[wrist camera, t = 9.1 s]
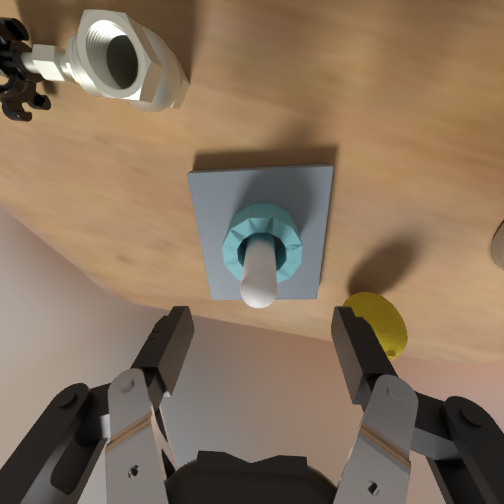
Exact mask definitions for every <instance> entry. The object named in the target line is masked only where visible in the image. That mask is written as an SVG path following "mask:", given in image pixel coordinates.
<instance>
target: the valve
mask: <svg viewBox="0 0 504 504" xmlns="http://www.w3.org/2000/svg"><path fill="white" fill-rule="evenodd" d="M22 40H23V41H28V40H29V35H28V32H27V30H26V28H25V27H24V25H23V24H22V23H21V22H20V21H19V20H17V19H15V18H7V17H0V76H4V77H7V78H8V79H9V80H8V82H7V83H6V84H4V85H0V101H1V102H2V110H3V112H4V114H5V115H6V116H7V117H8V118H10V119H11V120H15V121H26V122H29V121H31V119H32V113H31V112H26V111H25V110H24V109H23V107H22V103H24V102H27V104H28V105H29V106H30V107H32V108H33V109H39V110H49V109H50V108H51V102H50V100H49V98H48V97H47V96H46V95H40V94H39V93H37V92H36V83H38V82H41V81H42V80H50V81H54V82H62V83H73V84H76V83H77V82H78V83H79V84H80V85H81V87H82V88H83V89H84V90H85V91H86V92H87V93H88V94H90V95H92V96H94V97H104V98H111V99H116V100H123V101H126V102H127V103H129V104H130V105H132V106H133V107H135V108H137V109H139V110H142V111H146V112H160V111H163V110H165V109H167V108H171V109H180V107H181V105H182V102H183V100H184V98H185V95H186V93H187V90H188V88H189V85H190V83H189V81H188V79H187V77H186V75H185V73H184V71H183V69H182V67H181V65H180V63H179V61H178V59H177V57H176V55H175V54H174V53H173V52H172V51H171V50H170V49H169V47H168V46H167V45H166V43H165V42H164V41H163V40H162V39H161V38H160V37H159V36H158V35H157V34H156V33H154V32H153V31H151V30H150V29H148V28H146V27H144V26H141V25H139V24H138V23H137V22H136V21H134V20H133V19H132V18H131V17H129V16H128V15H127V14H126V13H122V12H116V11H108V10H95V9H88V10H84V12H83V15H82V18H81V21H80V25H79V29H78V34H74V35H72V36H71V37H70V38H69V40H68V44H67V49H66V50H64V49H62V48H59V47H56V46H51V45H39V44H34V46H33V50H32V49H31V48H30V47H29V46H28V45H26V44H25V43H23V42H21V41H22Z"/></svg>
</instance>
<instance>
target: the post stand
mask: <svg viewBox="0 0 504 504" xmlns="http://www.w3.org/2000/svg"><path fill="white" fill-rule="evenodd" d="M333 167H334V166H332V165H331V164H309V165H290V166H270V167H251V168H231V169H211V170H192V171H190V172H189V173H187V177H188V182H189V187H190V192H191V197H192V202H193V207H194V212H195V217H196V222H197V228H198V233H199V238H200V243H201V248H202V253H203V258H204V263H205V268H206V273H207V279H208V284H209V289H210V294H211V299H212V300H244V301H245V302H246V303H247V304H248V305H250V306H251V307H254V308H264V307H266V306H268V305H270V304H271V303H272V302H273V301H274V300H275V299H317V295H318V287H319V279H320V271H321V263H322V255H323V247H324V239H325V231H326V223H327V215H328V207H329V199H330V191H331V183H332V175H333ZM264 203H272V204H274V205H275V206H277V207H279V208H281V209H283V210H285V211H287V212H288V213H289V215H290V217H291V218H292V220H293V222H294V223H295V225H296V227H297V229H298V232H299V235H300V238H301V241H302V258H301V264H300V265H299V267H298V268H297V269H296V271H295V272H294V273H293V275H292V276H291V277H290V278H289V279H286V280H284V281H282V282H280V283H278V284H277V274H276V261H275V251H276V250H277V249H278V248H279V247H280V245H281V244H282V240H281V239H280V238H278V237H276V236H274V235H272V234H270V233H268V232H265V233H253V234H251V235H249V236H248V237H246V238H244V239H243V240H242V242H243V244H244V245H245V246H246V253H245V260H244V266H243V272H242V279H241V280H238V279H236V278H235V277H234V275H233V274H232V273H231V272H230V271H229V269H228V268H227V267H226V266H225V265H224V258H223V251H222V244H223V242H224V239H225V236H226V234H227V231H228V229H229V227H230V225H231V223H232V221H233V219H234V217H235V214H236V213H238V212H240V211H241V210H243V209H244V208H246V207H248V206H249V205H251V204H264Z"/></svg>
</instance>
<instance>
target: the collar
mask: <svg viewBox="0 0 504 504" xmlns="http://www.w3.org/2000/svg"><path fill="white" fill-rule="evenodd" d="M265 232H268V233H270V234H272V235H274V236H276V237H278V238H280V239H281V240H282V244H281V245H280V247H279V248H278V249H277V250H276V251H275V261H276V274H277V284H278V283H280V282H282V281H284V280H286V279H289V278H290V277H291V276H292V275H293V273H294V272H295V271H296V269H297V268H298V267H299V265H300V264H301V258H302V241H301V238H300V235H299V232H298V229H297V227H296V225H295V223H294V222H293V220H292V218H291V217H290V215H289V213H288V212H287V211H285V210H283V209H281V208H279V207H277V206H275V205H274V204H272V203H264V204H251V205H249V206H248V207H246V208H244V209H243V210H241V211H240V212H238V213H236V214H235V217H234V219H233V221H232V223H231V225H230V227H229V229H228V231H227V234H226V236H225V239H224V242H223V244H222V251H223V258H224V265H225V266H226V267H227V268H228V269H229V271H230V272H231V273H232V274H233V275H234V277H235V278H236V279H238V280H241V279H242V272H243V266H244V260H245V253H246V246H245V245H244V244H243V242H242V240H243V239H244V238H246V237H248V236H249V235H251V234H253V233H265Z"/></svg>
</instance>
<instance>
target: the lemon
mask: <svg viewBox="0 0 504 504" xmlns="http://www.w3.org/2000/svg"><path fill="white" fill-rule="evenodd" d="M343 306H350V307H351V308H352V310H353V312H354V314H355V316H356V317H363V318H364V319H365V320H366V321H367V322H368V323H369V324H370V325H371V327H372V329H373V330H374V332H375V335H376V336H377V338H378V340H379V343H380V344H381V346H382V347H383V349H384V351H385V353H386V355H387V357H388V359H389V361H391V360H393V359H394V358H396V357H397V356H399V355H400V354H401V353H402V352H403V350H404V349H405V347H406V344H407V338H408V337H407V330H406V326H405V323H404V321H403V319H402V317H401V315H400V314H399V312H398V311H397V309H396V308H395V307H394V306H393V305H392V304H391V303H390V302H389V301H388V300H386V299H385V298H384V297H382V296H380V295H378V294H375V293H370V292H360V293H356V294H354V295H352V296H350V297H349V298H348V299H347V300H346V301H345V302H344V304H343Z"/></svg>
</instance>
